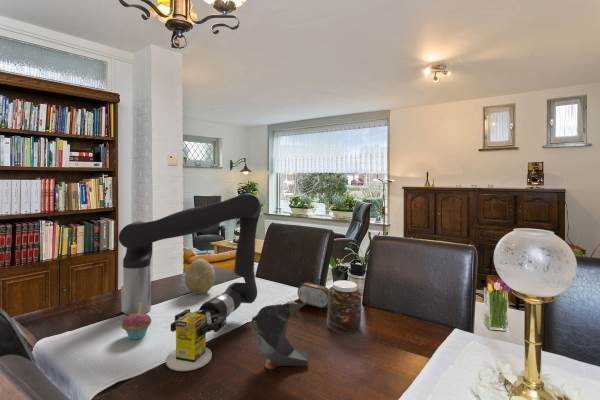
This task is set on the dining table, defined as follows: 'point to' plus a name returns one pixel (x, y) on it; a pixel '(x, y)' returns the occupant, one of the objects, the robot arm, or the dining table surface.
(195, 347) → the supplement box
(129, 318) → the cupcake
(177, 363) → the plate
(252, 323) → the grey bird figurine
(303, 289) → the tin
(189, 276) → the fossilized egg
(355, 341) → the dining table surface
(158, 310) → the dining table surface
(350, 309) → the jar
